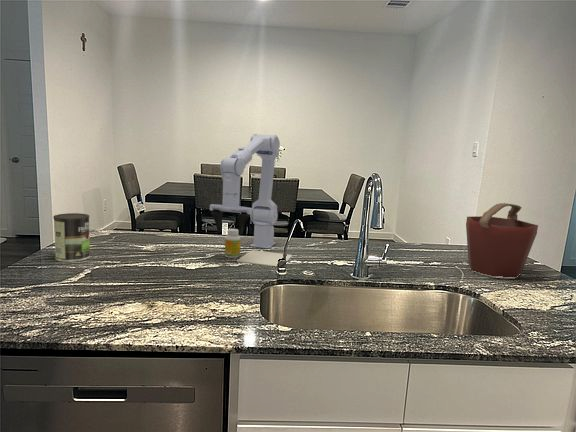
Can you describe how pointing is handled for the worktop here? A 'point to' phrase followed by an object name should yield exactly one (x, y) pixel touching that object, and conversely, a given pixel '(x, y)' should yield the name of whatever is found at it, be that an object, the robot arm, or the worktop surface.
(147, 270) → the worktop surface
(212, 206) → the robot arm
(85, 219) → the coffee can
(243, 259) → the mat
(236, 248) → the supplement bottle
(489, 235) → the bucket
